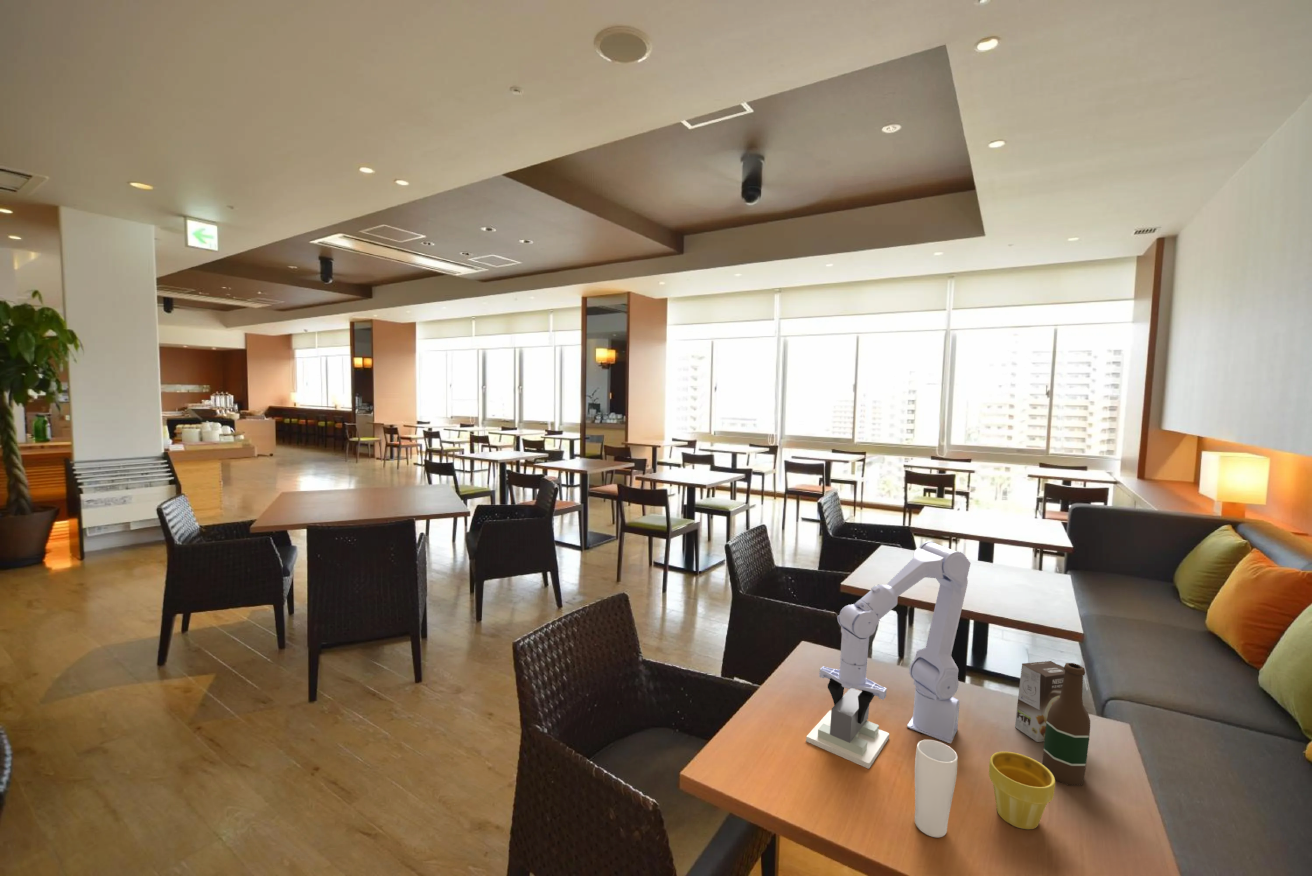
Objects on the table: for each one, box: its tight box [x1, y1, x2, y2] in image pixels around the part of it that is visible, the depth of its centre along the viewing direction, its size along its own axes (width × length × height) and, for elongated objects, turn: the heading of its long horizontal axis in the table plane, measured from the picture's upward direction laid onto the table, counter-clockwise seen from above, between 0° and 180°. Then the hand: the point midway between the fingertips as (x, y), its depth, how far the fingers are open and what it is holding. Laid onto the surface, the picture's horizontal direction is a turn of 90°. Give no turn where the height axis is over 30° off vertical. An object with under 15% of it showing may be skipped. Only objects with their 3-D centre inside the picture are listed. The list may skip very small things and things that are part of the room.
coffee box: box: [1014, 660, 1065, 743], centre depth 135 cm, size 9×6×16 cm
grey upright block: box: [830, 688, 870, 743], centre depth 130 cm, size 4×12×6 cm, turn 142°
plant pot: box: [988, 751, 1056, 830], centre depth 107 cm, size 10×10×10 cm
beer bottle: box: [1041, 662, 1091, 786], centre depth 120 cm, size 8×8×24 cm
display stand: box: [805, 709, 890, 770], centre depth 130 cm, size 14×14×3 cm
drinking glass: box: [914, 739, 959, 838], centre depth 104 cm, size 7×7×15 cm
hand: (849, 717), depth 129 cm, fingers closed on grey upright block, 4 cm apart
